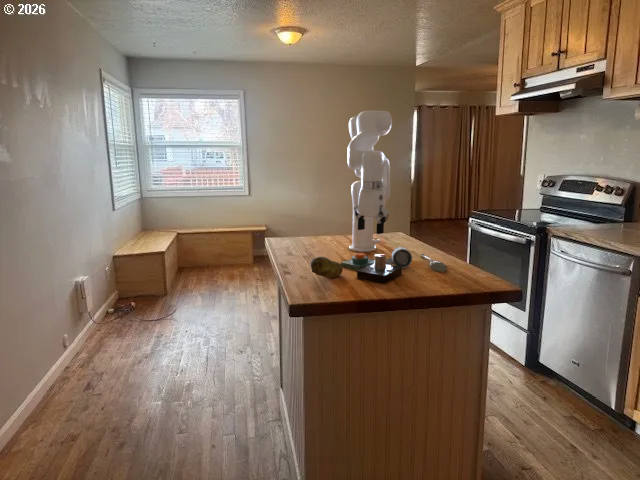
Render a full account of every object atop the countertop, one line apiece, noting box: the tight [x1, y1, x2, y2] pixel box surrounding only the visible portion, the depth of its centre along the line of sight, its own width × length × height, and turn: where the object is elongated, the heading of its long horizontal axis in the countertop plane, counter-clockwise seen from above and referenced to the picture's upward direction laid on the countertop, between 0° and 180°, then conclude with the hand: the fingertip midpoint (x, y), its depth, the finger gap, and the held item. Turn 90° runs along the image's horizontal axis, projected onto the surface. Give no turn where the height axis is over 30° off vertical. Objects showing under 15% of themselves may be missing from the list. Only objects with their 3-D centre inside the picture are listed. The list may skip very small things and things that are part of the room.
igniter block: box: [340, 255, 375, 271], centre depth 175 cm, size 12×10×4 cm
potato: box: [310, 256, 344, 279], centre depth 158 cm, size 8×13×8 cm, turn 108°
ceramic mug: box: [386, 246, 413, 269], centre depth 174 cm, size 11×8×8 cm
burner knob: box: [374, 253, 387, 270], centre depth 159 cm, size 4×4×5 cm
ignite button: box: [355, 252, 366, 259], centre depth 174 cm, size 4×4×2 cm
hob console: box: [356, 263, 403, 285], centre depth 160 cm, size 14×11×3 cm
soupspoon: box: [420, 253, 448, 273], centre depth 177 cm, size 22×3×7 cm
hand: (370, 231), depth 164 cm, fingers open, 9 cm apart
